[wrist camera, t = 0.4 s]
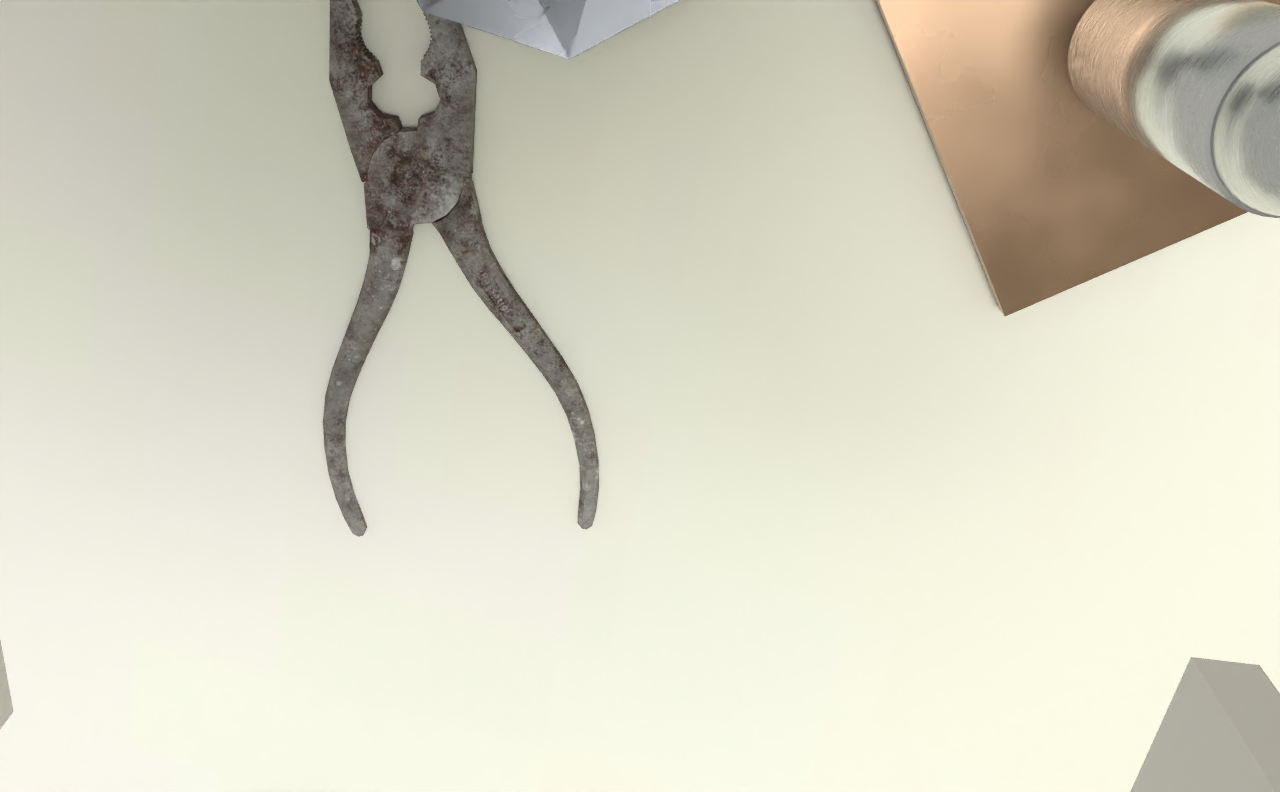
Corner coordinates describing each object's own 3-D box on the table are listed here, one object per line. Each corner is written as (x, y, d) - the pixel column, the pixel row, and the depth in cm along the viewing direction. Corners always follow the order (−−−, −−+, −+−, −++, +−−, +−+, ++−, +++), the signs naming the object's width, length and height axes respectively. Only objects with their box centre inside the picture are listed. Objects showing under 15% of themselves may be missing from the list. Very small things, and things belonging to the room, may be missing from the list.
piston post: (854, -52, 30) (947, 3, 20) (1298, -287, 28) (1674, -364, 17) (998, 306, 35) (1133, 503, 25) (1389, 137, 32) (1730, 278, 22)
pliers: (367, 577, 40) (116, 27, 32) (373, 563, 41) (129, 22, 32) (622, 526, 39) (432, -65, 30) (623, 512, 40) (438, -68, 31)
